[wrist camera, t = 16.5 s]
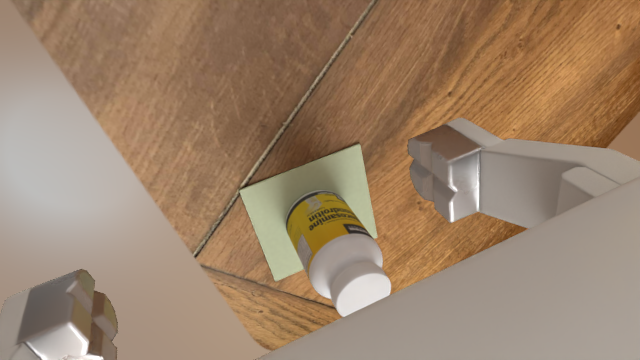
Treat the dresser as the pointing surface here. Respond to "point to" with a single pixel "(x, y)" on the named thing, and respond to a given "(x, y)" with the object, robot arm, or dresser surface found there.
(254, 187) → the mat
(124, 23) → the dresser surface
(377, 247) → the pill bottle
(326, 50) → the dresser surface
